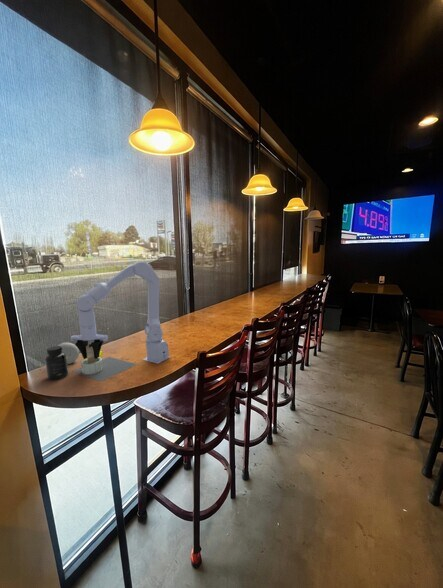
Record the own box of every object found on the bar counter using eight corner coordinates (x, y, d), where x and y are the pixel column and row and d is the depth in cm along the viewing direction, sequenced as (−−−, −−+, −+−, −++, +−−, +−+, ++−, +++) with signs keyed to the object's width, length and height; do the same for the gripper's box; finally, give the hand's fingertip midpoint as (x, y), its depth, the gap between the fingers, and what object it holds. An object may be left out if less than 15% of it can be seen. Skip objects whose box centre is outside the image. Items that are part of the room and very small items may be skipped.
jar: (107, 368, 103) (106, 359, 102) (89, 376, 97) (88, 366, 96) (95, 365, 107) (94, 355, 106) (78, 372, 100) (77, 362, 100)
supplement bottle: (46, 377, 98) (42, 348, 96) (66, 371, 102) (62, 343, 101) (49, 383, 93) (45, 352, 91) (70, 376, 97) (66, 347, 96)
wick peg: (96, 365, 101) (94, 344, 100) (88, 367, 100) (86, 346, 98) (96, 363, 104) (94, 342, 102) (88, 364, 102) (85, 344, 101)
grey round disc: (53, 367, 107) (50, 345, 105) (56, 364, 110) (53, 342, 109) (79, 364, 109) (76, 342, 108) (81, 361, 113) (78, 340, 111)
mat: (137, 365, 106) (137, 364, 106) (100, 382, 92) (100, 381, 92) (109, 357, 116) (109, 356, 116) (72, 372, 102) (72, 371, 101)
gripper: (110, 322, 103) (113, 354, 104) (77, 323, 104) (80, 354, 106) (101, 327, 96) (104, 360, 97) (65, 327, 97) (69, 360, 99)
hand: (91, 357), depth 101 cm, fingers closed on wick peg, 4 cm apart
